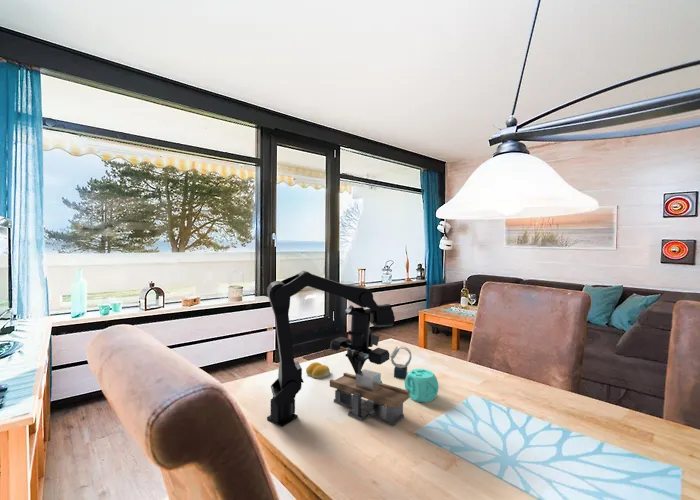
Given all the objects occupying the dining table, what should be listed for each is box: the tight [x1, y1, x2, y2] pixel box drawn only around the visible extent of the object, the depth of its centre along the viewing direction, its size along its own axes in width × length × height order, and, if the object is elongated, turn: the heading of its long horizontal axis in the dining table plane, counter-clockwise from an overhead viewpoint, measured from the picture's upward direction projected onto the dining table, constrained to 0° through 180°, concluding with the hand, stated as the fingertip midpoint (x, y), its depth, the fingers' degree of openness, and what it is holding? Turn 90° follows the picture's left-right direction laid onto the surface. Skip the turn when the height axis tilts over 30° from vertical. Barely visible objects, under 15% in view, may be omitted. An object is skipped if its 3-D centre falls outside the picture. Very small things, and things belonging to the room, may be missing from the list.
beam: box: [329, 372, 411, 408], centre depth 106 cm, size 24×8×2 cm, turn 52°
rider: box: [355, 368, 382, 392], centre depth 106 cm, size 6×5×4 cm
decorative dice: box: [404, 368, 440, 403], centre depth 115 cm, size 8×8×8 cm
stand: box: [333, 380, 405, 427], centre depth 106 cm, size 22×13×7 cm, turn 52°
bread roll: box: [305, 361, 331, 379], centre depth 133 cm, size 8×9×4 cm
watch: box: [389, 345, 412, 380], centre depth 132 cm, size 6×8×11 cm
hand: (357, 376), depth 108 cm, fingers closed
